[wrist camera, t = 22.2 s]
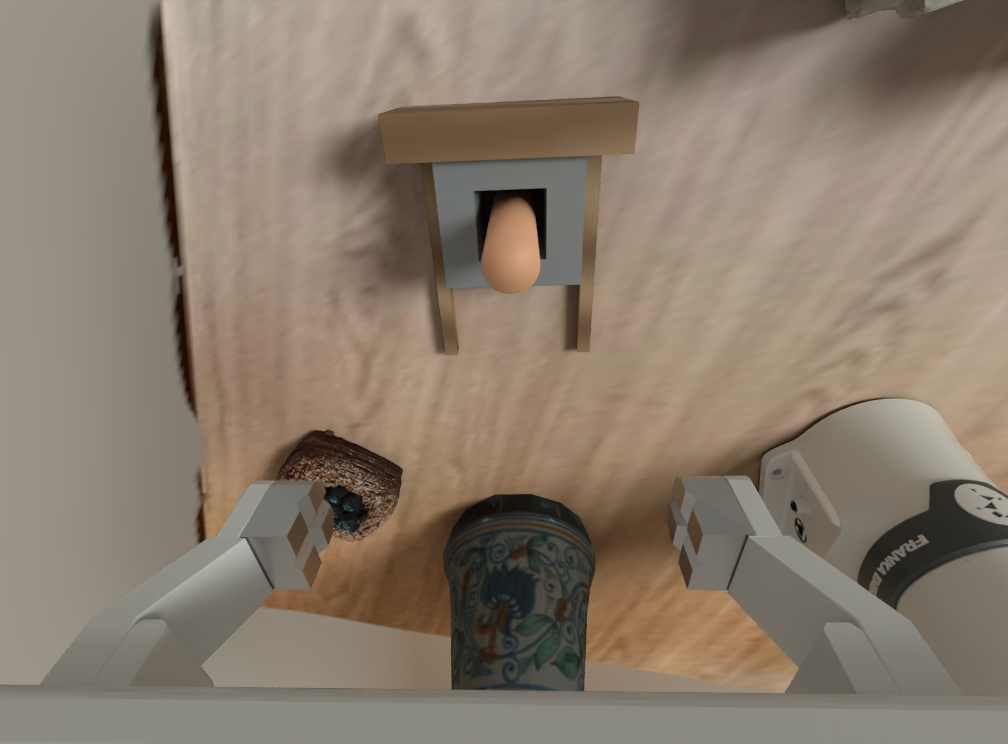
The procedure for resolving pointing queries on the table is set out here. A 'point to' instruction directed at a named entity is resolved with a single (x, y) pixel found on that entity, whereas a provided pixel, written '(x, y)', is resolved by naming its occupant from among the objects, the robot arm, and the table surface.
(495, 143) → the rail frame
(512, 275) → the dowel
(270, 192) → the table surface
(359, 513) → the pastry
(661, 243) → the table surface
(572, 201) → the block
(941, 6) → the incense holder
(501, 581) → the beer stein
